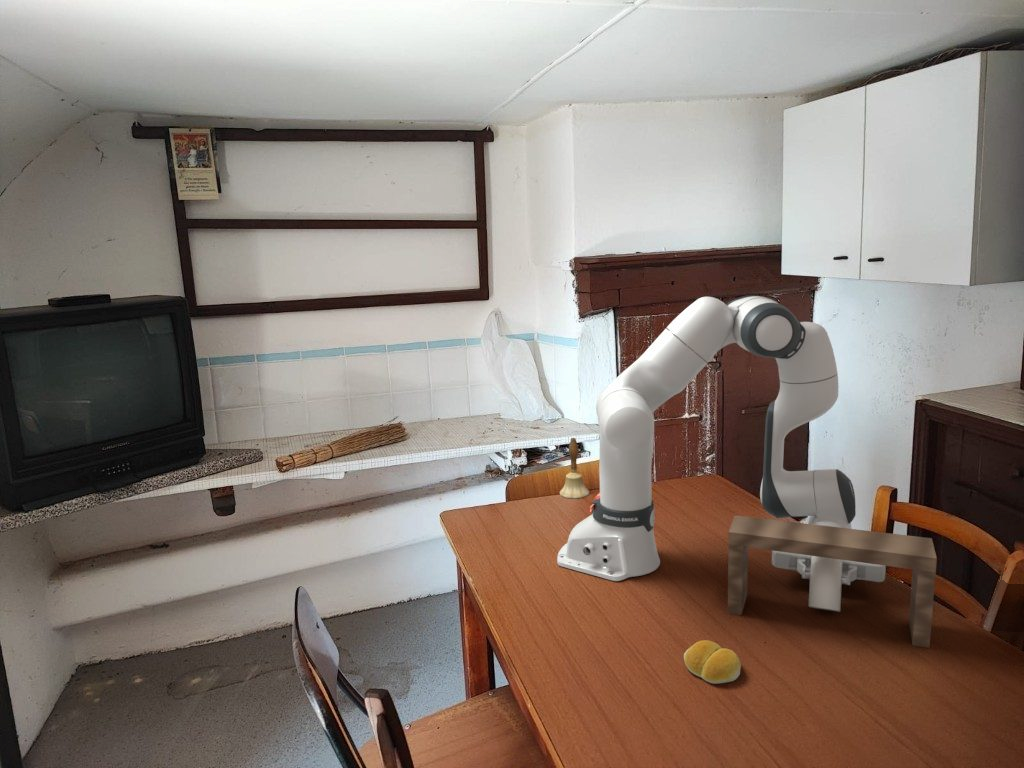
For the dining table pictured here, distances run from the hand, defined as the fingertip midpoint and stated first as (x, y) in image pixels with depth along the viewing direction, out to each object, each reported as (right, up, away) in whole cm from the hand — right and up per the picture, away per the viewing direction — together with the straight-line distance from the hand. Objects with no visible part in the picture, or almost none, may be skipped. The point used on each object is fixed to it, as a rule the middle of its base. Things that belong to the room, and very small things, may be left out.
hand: (825, 578), depth 132 cm
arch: (-1, -7, -2) cm, 7 cm away
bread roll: (-25, -11, -14) cm, 31 cm away
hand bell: (-41, +6, +65) cm, 77 cm away
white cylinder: (-1, -5, -2) cm, 6 cm away
